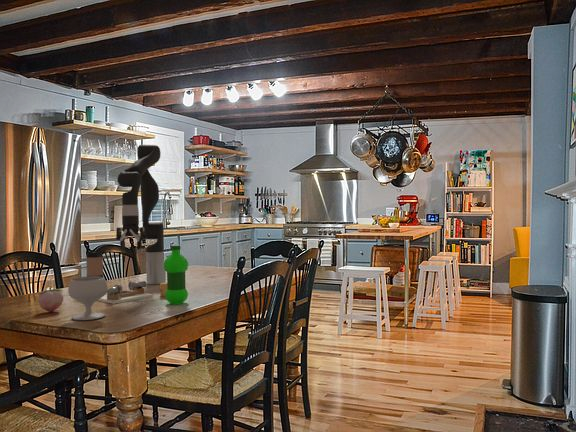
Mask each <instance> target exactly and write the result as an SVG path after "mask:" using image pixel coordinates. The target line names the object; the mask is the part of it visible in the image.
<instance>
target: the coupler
mask: <svg viewBox="0 0 576 432" xmlns="http://www.w3.org/2000/svg"><path fill="white" fill-rule="evenodd" d="M166 290H167V282H166V283H160V284H159V295H160V296H159V297H160V298H166V297H165V293H166Z"/></svg>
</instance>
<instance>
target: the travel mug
mask: <svg viewBox="0 0 576 432" xmlns="http://www.w3.org/2000/svg"><path fill="white" fill-rule="evenodd" d="M85 254H86V256H85V257H86V260H85V261H86V277H88V276H101V277H104V262H103V261H104V258H103V251H102V250H101V251H98V250H95V251H94V250H93V251H86V252H85Z"/></svg>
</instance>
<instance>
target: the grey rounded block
mask: <svg viewBox="0 0 576 432" xmlns="http://www.w3.org/2000/svg"><path fill="white" fill-rule="evenodd" d="M122 291H123V286H122V285H121V284H114V286H113V287H111V288H108V290H107V293H106V295H107V300H119V299H121V292H122Z"/></svg>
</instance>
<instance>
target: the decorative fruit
mask: <svg viewBox="0 0 576 432" xmlns="http://www.w3.org/2000/svg"><path fill="white" fill-rule="evenodd" d="M63 292H64V290H61V289H59V288H53V289H52V287H49V289H47V290H42V291H40V292H39V293H38V304H39V306H40V308H42V310H44V311H47V312H49V313H52V312H54V311H56V310H57V309H58V308H60V306H61V305H63V302H64V296H63V294H62V293H63Z"/></svg>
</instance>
